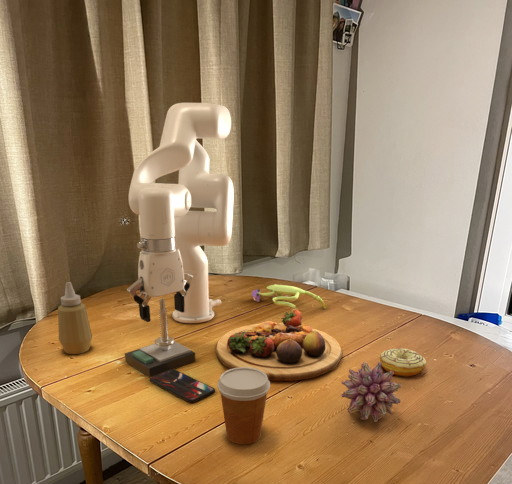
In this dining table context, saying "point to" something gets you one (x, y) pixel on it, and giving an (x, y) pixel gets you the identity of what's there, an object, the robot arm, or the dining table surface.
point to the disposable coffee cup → (243, 403)
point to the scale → (159, 358)
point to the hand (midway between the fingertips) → (163, 315)
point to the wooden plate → (280, 349)
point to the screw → (164, 329)
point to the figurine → (285, 295)
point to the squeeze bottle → (73, 323)
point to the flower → (371, 391)
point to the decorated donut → (402, 361)
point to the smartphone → (182, 385)
